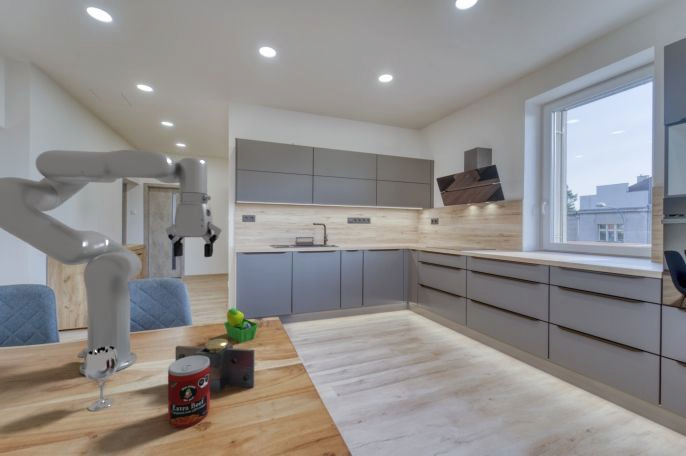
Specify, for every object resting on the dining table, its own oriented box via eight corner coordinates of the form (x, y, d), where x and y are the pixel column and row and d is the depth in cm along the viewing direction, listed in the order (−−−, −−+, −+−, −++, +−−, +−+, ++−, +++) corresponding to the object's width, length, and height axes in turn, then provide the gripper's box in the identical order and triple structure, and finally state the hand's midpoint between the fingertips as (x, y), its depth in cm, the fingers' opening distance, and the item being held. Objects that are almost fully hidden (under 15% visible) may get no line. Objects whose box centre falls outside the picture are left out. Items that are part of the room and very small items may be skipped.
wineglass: (90, 416, 61) (90, 358, 61) (80, 407, 64) (80, 352, 64) (122, 402, 66) (122, 348, 66) (111, 394, 69) (111, 343, 69)
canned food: (165, 433, 56) (165, 375, 56) (170, 409, 64) (171, 358, 64) (209, 422, 59) (209, 368, 59) (209, 401, 67) (210, 352, 67)
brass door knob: (212, 378, 77) (212, 338, 77) (231, 379, 76) (231, 339, 76) (200, 389, 72) (200, 346, 72) (220, 391, 71) (220, 347, 71)
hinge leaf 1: (232, 378, 77) (232, 343, 77) (219, 392, 70) (219, 354, 70) (184, 375, 78) (184, 341, 78) (167, 388, 72) (167, 351, 72)
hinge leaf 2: (194, 390, 71) (194, 353, 71) (209, 377, 78) (209, 342, 78) (247, 394, 70) (248, 356, 70) (258, 380, 76) (258, 345, 76)
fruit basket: (259, 338, 104) (259, 306, 104) (236, 346, 98) (236, 312, 98) (242, 331, 112) (242, 301, 112) (219, 337, 105) (219, 306, 105)
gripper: (226, 200, 92) (226, 255, 92) (175, 201, 94) (175, 255, 94) (213, 198, 85) (213, 258, 85) (157, 198, 87) (157, 257, 87)
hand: (193, 256), depth 90 cm, fingers open, 9 cm apart
